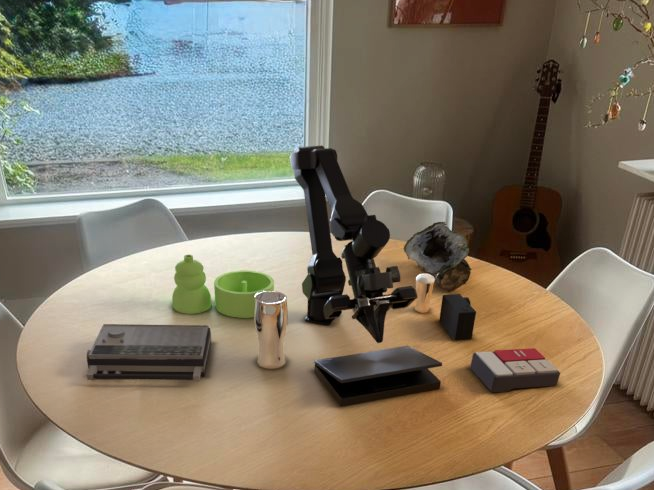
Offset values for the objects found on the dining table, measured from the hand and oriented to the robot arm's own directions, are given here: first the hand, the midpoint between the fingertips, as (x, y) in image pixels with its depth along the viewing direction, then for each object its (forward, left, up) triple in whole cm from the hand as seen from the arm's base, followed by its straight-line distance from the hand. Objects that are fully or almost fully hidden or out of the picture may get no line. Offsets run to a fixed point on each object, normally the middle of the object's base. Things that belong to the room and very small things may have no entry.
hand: (380, 342), depth 146 cm
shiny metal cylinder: (+1, +38, -9) cm, 40 cm away
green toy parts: (-46, +22, -9) cm, 52 cm away
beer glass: (-24, -1, -9) cm, 25 cm away
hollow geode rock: (0, +59, -9) cm, 60 cm away
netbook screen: (0, 0, -6) cm, 6 cm away
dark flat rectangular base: (0, 0, -9) cm, 9 cm away
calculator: (+26, +12, -9) cm, 31 cm away
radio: (-48, -11, -9) cm, 50 cm away
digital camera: (+11, +30, -9) cm, 34 cm away
